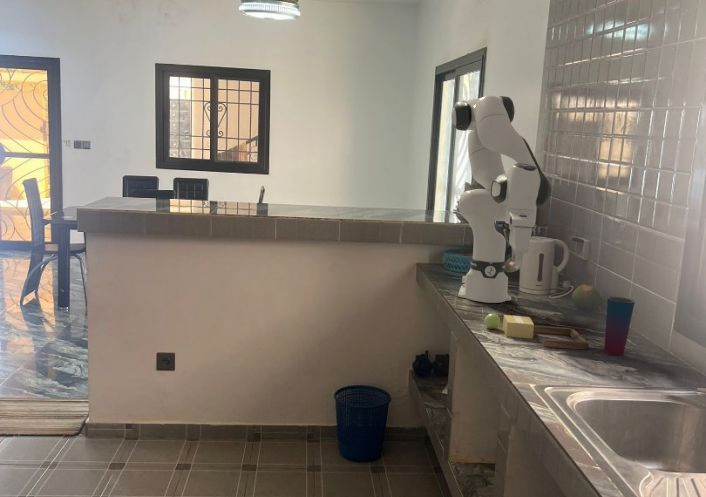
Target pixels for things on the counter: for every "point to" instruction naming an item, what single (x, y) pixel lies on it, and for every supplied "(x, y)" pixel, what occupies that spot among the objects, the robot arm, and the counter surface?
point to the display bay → (577, 344)
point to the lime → (492, 321)
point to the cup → (617, 324)
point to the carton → (518, 326)
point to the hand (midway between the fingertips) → (516, 263)
